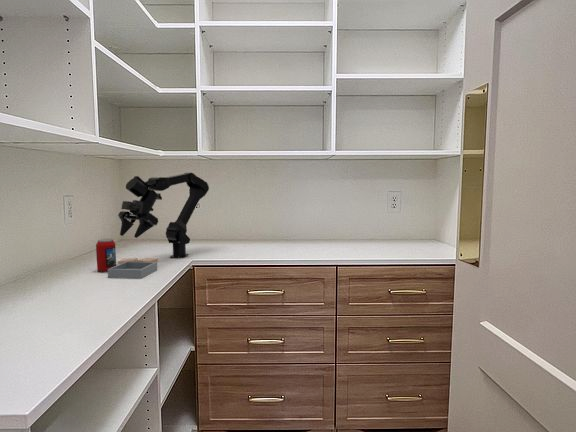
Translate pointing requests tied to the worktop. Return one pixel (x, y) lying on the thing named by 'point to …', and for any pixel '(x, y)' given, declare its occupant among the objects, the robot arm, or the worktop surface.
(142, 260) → the tile
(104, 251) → the beverage can
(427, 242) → the worktop surface
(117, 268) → the tray
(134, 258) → the tile
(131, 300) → the worktop surface
